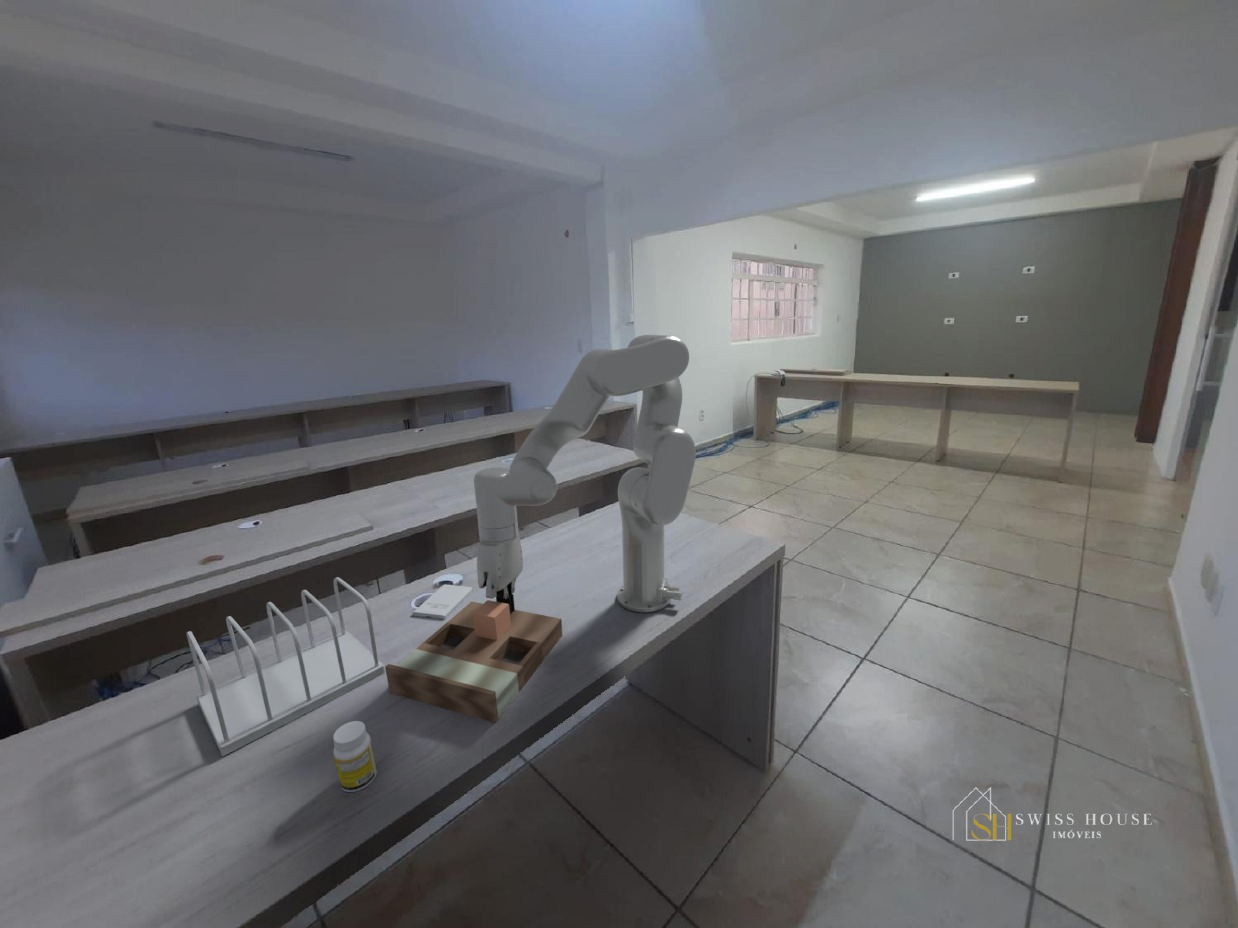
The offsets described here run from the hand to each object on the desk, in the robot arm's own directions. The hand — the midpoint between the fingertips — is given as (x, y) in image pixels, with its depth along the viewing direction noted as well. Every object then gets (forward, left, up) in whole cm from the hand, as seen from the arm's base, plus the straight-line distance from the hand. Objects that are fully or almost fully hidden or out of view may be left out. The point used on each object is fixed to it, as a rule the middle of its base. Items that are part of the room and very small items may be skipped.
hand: (506, 611), depth 103 cm
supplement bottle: (+2, +37, -6) cm, 37 cm away
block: (0, +5, -1) cm, 5 cm away
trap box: (0, +9, -5) cm, 10 cm away
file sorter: (+28, +26, -6) cm, 39 cm away
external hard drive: (+21, -6, -6) cm, 23 cm away
